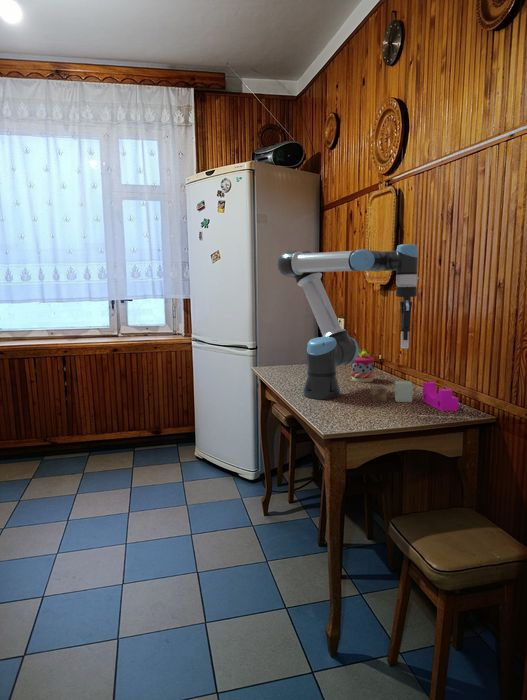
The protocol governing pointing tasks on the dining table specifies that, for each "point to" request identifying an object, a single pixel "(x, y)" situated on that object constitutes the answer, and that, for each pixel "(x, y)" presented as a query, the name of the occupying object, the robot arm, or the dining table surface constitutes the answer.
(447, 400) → the toy block
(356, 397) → the dining table surface
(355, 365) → the cake
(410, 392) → the sage block
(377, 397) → the walnut block
